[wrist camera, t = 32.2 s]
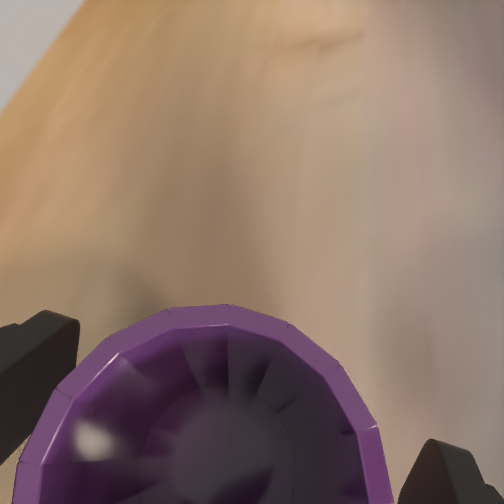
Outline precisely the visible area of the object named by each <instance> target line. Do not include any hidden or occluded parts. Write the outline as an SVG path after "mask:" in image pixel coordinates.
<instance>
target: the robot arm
mask: <svg viewBox="0 0 504 504" xmlns="http://www.w3.org/2000/svg"><path fill="white" fill-rule="evenodd" d="M79 334H80V323H79V321H78V320H76V319H73V318H70V317H67V316H64V315H61V314H58V313H55V312H52V311H49V310H44V311H41V312H39V313H38V314H36V315H35V316H33V317H32V318H30V319H29V320H27V321H26V322H24V323H23V324H21V325H18V324H15V323H14V324H11V325H7V326H4V327H1V328H0V466H1V465H2V463H3V462H4V461H5V460H6V459H7V458H8V457H9V456H10V455H11V454H12V453H13V452H14V451H15V450H16V449H17V448H18V447H19V446H20V445H21V444H22V443H23V442H24V441H25V440H26V439H27V438H28V436H29V435H30V434H31V433H32V432H33V430H34V428H35V426H36V424H37V422H38V420H39V418H40V416H41V414H42V412H43V410H44V408H45V406H46V404H47V402H48V400H49V398H50V396H51V394H52V392H53V391H54V389H56V387H57V385H58V384H59V383H60V382H61V381H62V380H63V379H64V378H65V377H66V376H67V375H68V374H69V373H70V372H71V371H72V370H73V369H75V367H76V359H77V351H78V343H79ZM398 504H504V499H503V498H502V497H501V495H500V494H499V493H498V492H497V490H496V489H495V488H494V487H493V486H491V485H488V484H485V482H484V480H483V478H482V476H481V473H480V471H479V469H478V466H477V464H476V462H475V459H474V457H473V455H472V454H471V452H469V451H468V450H465V449H462V448H459V447H456V446H453V445H450V444H447V443H444V442H441V441H438V440H435V439H429V440H427V441H426V443H425V444H424V446H423V448H422V450H421V452H420V454H419V456H418V458H417V459H416V461H415V463H414V465H413V467H412V469H411V471H410V473H409V475H408V477H407V479H406V481H405V483H404V485H403V487H402V489H401V492H400V495H399V498H398Z"/></svg>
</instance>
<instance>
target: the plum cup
mask: <svg viewBox="0 0 504 504" xmlns="http://www.w3.org/2000/svg"><path fill="white" fill-rule="evenodd" d="M19 461H20V462H18V464H17V468H16V475H15V482H14V489H13V496H12V503H11V504H394V500H393V495H392V490H391V485H390V481H389V476H388V471H387V466H386V461H385V456H384V451H383V447H382V442H381V437H380V432H379V429H378V427H377V423H376V422H375V420H374V418H373V417H372V415H371V413H370V412H369V410H368V408H367V407H366V405H365V403H364V402H363V400H362V398H361V397H360V395H359V393H358V392H357V390H356V388H355V387H354V385H353V383H352V381H351V380H350V378H349V376H348V375H347V373H346V371H345V370H344V368H343V366H341V365H340V363H339V362H338V361H337V360H336V359H334V358H333V357H332V356H331V355H329V354H328V353H327V352H326V351H324V350H323V349H322V348H321V347H320V346H318V345H317V344H316V343H315V342H313V341H312V340H311V339H310V338H308V337H307V336H306V335H305V334H303V333H302V332H301V331H300V330H298V329H297V328H296V327H295V326H293V325H292V324H289V323H288V322H287V321H283V320H280V319H277V318H274V317H271V316H268V315H264V314H261V313H258V312H255V311H252V310H249V309H245V308H242V307H239V306H236V305H229V304H220V305H206V306H192V307H178V308H170V309H169V310H168V309H165V310H163V311H161V312H159V313H157V314H154V315H152V316H150V317H148V318H146V319H144V320H141V321H139V322H137V323H135V324H133V325H131V326H128V327H126V328H124V329H122V330H120V331H118V332H116V333H113V334H111V335H110V336H109V338H108V337H107V338H105V339H104V340H103V341H102V342H101V343H100V344H99V345H98V346H97V347H96V348H95V349H94V350H93V351H92V352H91V353H90V354H89V355H88V356H87V357H86V358H85V359H84V360H83V361H82V362H81V363H80V364H79V365H78V366H77V367H76V368H75V369H73V370H72V371H71V372H70V373H69V374H68V375H67V376H66V377H65V378H64V379H63V380H62V381H61V382H60V383H59V384H58V385H57V387H56V389H54V391H53V392H52V394H51V396H50V398H49V400H48V402H47V404H46V406H45V408H44V410H43V412H42V414H41V416H40V418H39V420H38V422H37V424H36V426H35V428H34V430H33V432H32V434H31V436H30V438H29V440H28V442H27V444H26V446H25V448H24V449H23V451H22V453H21V455H20V457H19Z"/></svg>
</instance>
